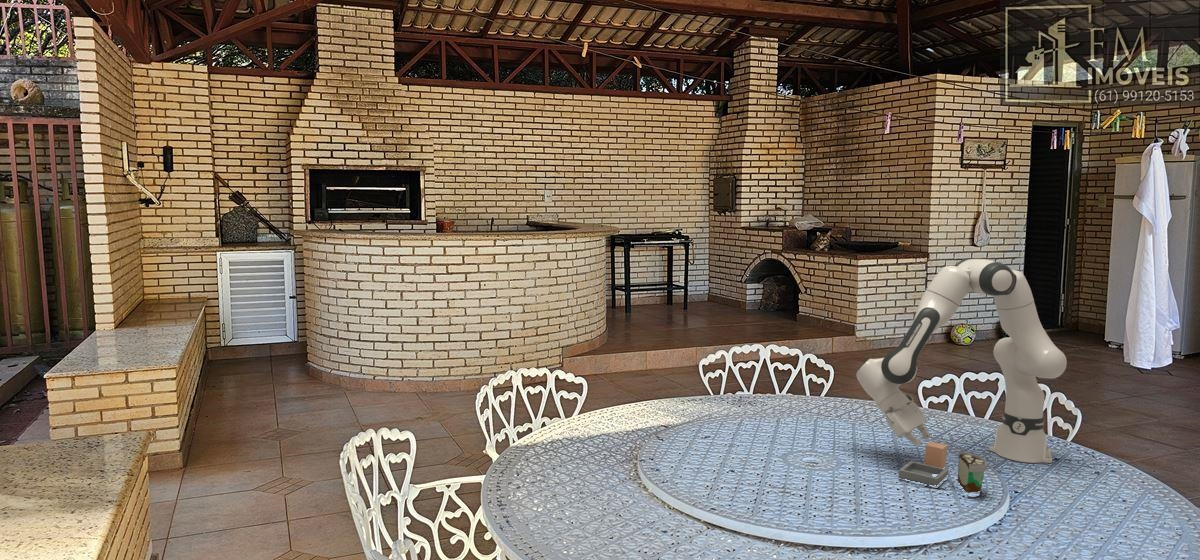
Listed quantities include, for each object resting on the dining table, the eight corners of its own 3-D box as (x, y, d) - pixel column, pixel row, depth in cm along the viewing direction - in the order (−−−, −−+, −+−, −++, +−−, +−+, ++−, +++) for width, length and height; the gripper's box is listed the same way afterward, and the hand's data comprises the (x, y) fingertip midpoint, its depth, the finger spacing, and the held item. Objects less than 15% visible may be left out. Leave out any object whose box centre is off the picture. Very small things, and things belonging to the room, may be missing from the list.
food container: (990, 501, 215) (993, 467, 214) (967, 499, 216) (969, 464, 215) (978, 485, 227) (981, 453, 226) (955, 483, 228) (958, 451, 227)
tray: (910, 470, 238) (910, 461, 238) (947, 479, 231) (948, 469, 231) (898, 479, 230) (898, 469, 230) (936, 489, 223) (937, 479, 223)
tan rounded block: (928, 466, 243) (930, 441, 242) (945, 470, 240) (947, 445, 239) (923, 470, 239) (925, 445, 238) (940, 474, 236) (942, 448, 235)
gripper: (890, 406, 237) (921, 444, 231) (912, 394, 252) (941, 429, 247) (875, 417, 240) (904, 454, 235) (897, 405, 256) (925, 440, 250)
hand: (923, 441), depth 241 cm, fingers open, 8 cm apart
